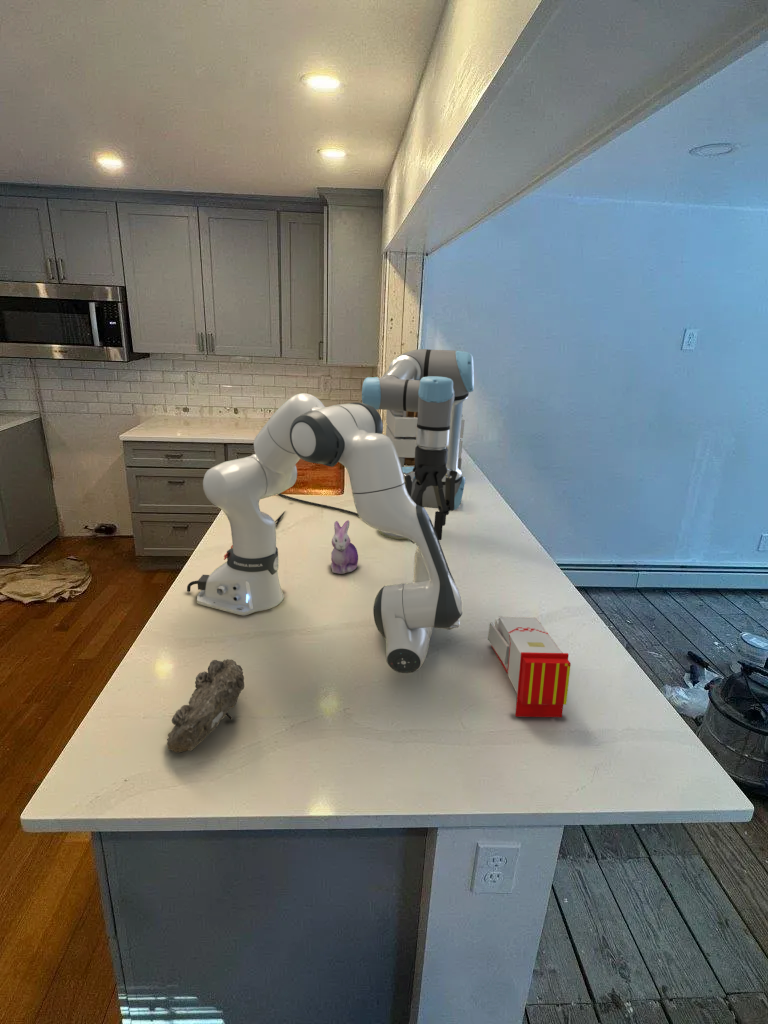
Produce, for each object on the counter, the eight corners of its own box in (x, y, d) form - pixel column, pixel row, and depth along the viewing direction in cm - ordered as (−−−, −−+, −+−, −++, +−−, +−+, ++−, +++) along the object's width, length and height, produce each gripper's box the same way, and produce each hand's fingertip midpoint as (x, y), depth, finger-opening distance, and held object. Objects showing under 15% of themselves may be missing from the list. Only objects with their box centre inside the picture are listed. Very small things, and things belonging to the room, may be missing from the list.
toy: (534, 602, 136) (579, 659, 107) (529, 653, 139) (572, 723, 110) (484, 601, 136) (516, 658, 107) (480, 652, 139) (510, 722, 109)
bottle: (408, 622, 144) (414, 536, 136) (412, 614, 148) (418, 530, 140) (425, 626, 142) (432, 539, 134) (429, 617, 146) (436, 532, 138)
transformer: (382, 463, 289) (386, 382, 275) (445, 464, 293) (451, 384, 279) (390, 482, 257) (394, 392, 243) (460, 483, 261) (468, 394, 247)
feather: (291, 505, 226) (294, 501, 225) (275, 529, 199) (277, 524, 199) (288, 503, 226) (290, 499, 225) (270, 526, 199) (273, 522, 199)
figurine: (336, 577, 165) (336, 529, 160) (323, 563, 174) (323, 517, 169) (365, 572, 170) (367, 525, 164) (351, 558, 178) (352, 514, 173)
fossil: (192, 660, 117) (244, 628, 112) (224, 691, 120) (276, 661, 115) (142, 746, 98) (202, 712, 93) (182, 779, 101) (242, 748, 96)
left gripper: (460, 617, 128) (463, 589, 141) (371, 605, 131) (382, 579, 144) (457, 641, 130) (461, 611, 143) (370, 629, 133) (381, 601, 146)
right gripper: (459, 440, 136) (451, 529, 144) (387, 444, 129) (382, 538, 137) (476, 447, 130) (466, 540, 138) (401, 452, 123) (395, 550, 130)
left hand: (421, 595), depth 144 cm, fingers closed on bottle, 4 cm apart
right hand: (425, 539), depth 137 cm, fingers open, 6 cm apart
